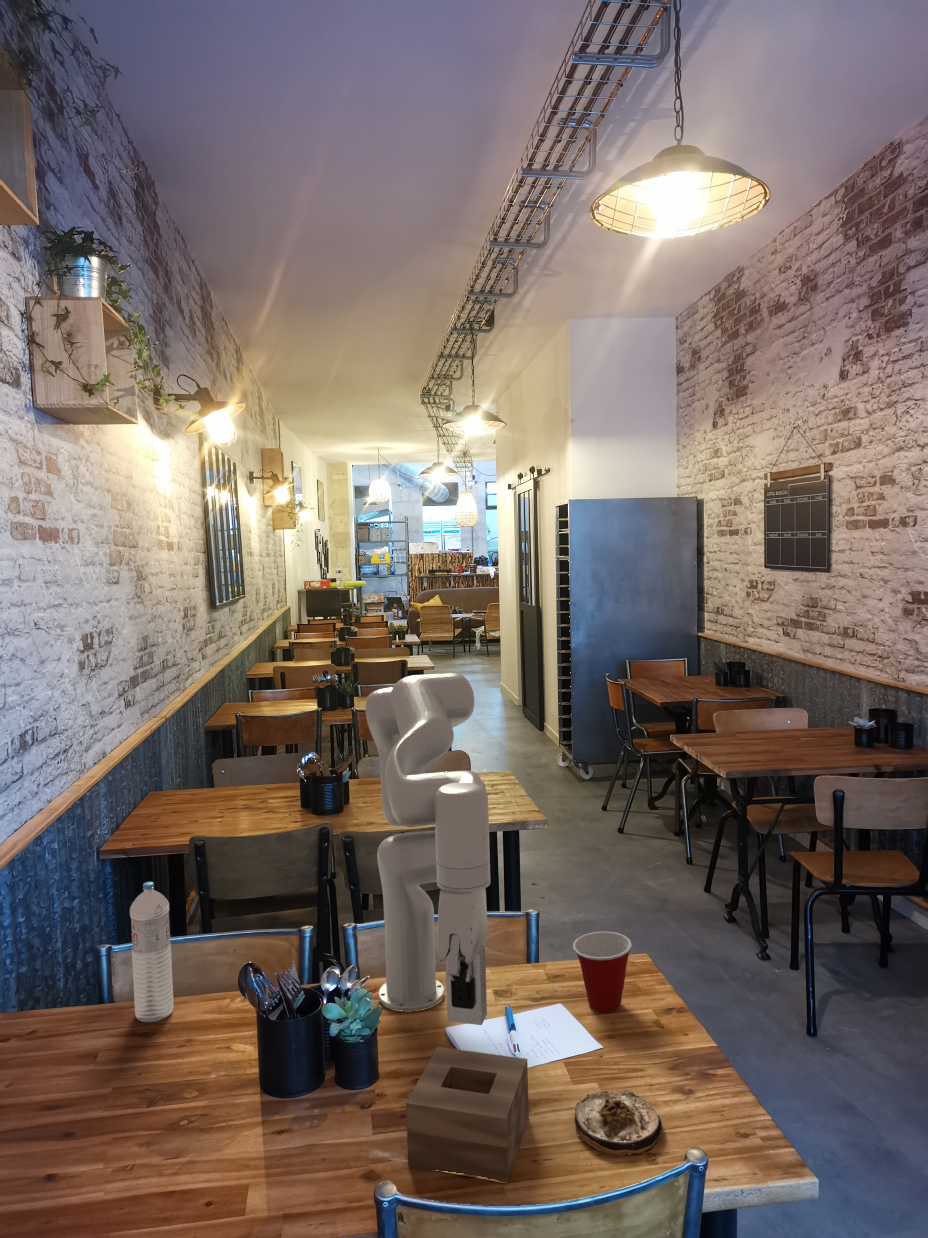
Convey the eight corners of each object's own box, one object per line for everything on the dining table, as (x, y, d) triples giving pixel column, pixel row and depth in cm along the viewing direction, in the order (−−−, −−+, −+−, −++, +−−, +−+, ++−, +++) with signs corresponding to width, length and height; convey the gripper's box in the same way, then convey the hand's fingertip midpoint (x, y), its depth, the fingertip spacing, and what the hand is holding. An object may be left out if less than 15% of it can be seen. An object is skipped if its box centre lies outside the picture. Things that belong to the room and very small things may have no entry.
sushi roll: (684, 1163, 115) (684, 1134, 115) (576, 1170, 114) (575, 1140, 114) (655, 1096, 130) (654, 1070, 130) (559, 1102, 129) (558, 1075, 129)
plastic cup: (567, 993, 161) (566, 932, 161) (622, 988, 162) (621, 928, 162) (581, 1023, 150) (580, 957, 150) (640, 1018, 152) (639, 953, 151)
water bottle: (166, 1024, 154) (159, 890, 153) (129, 1024, 154) (122, 890, 153) (179, 1004, 161) (173, 876, 160) (143, 1005, 161) (137, 877, 160)
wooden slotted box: (438, 1104, 129) (437, 1047, 128) (528, 1118, 125) (527, 1059, 124) (408, 1166, 115) (406, 1103, 115) (507, 1184, 111) (506, 1118, 111)
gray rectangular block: (453, 1010, 121) (451, 942, 121) (486, 1014, 120) (485, 945, 119) (447, 1021, 118) (445, 951, 118) (481, 1025, 117) (479, 955, 116)
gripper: (454, 852, 127) (457, 971, 128) (419, 892, 111) (423, 1028, 112) (502, 855, 125) (505, 976, 126) (473, 897, 109) (477, 1035, 110)
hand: (466, 999), depth 119 cm, fingers closed on gray rectangular block, 3 cm apart
